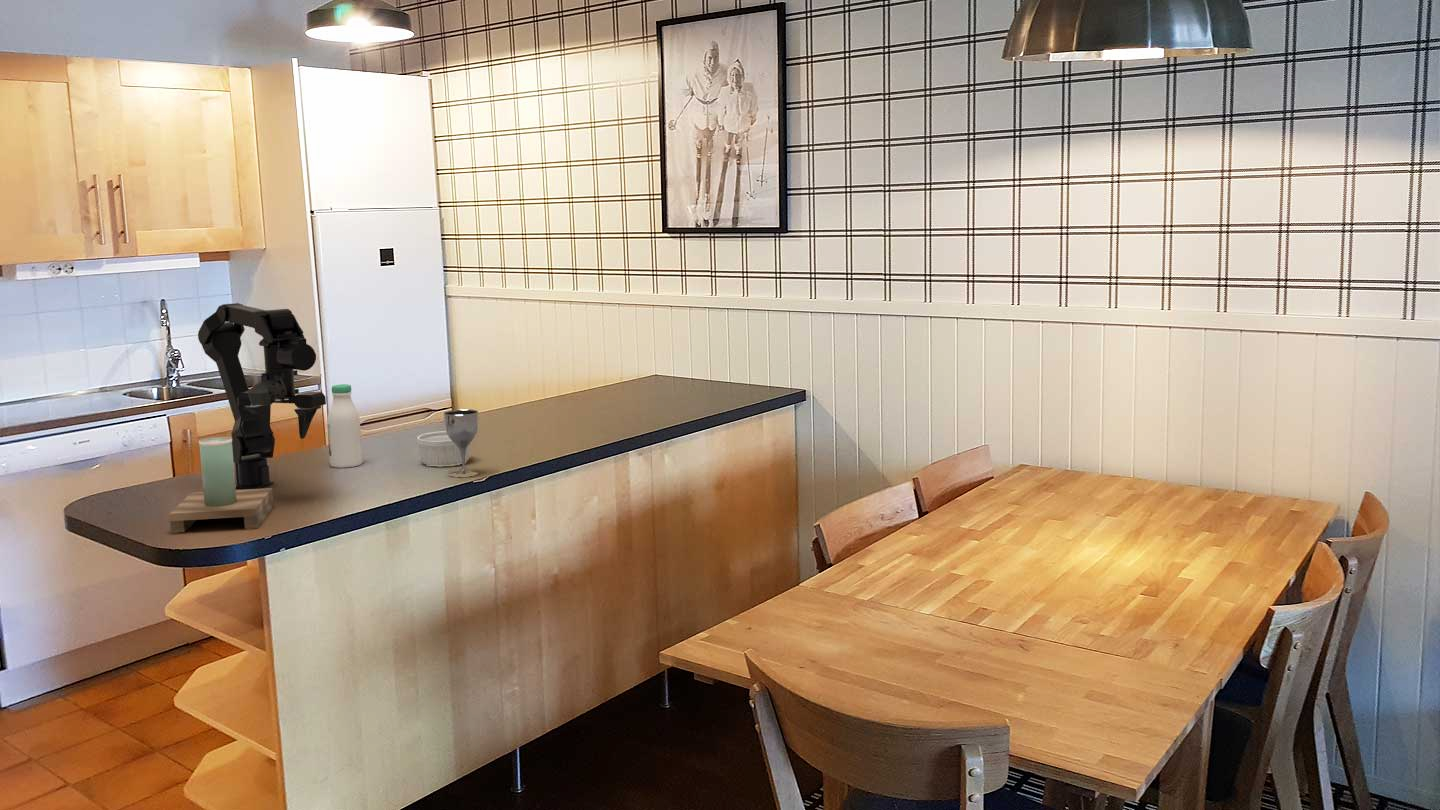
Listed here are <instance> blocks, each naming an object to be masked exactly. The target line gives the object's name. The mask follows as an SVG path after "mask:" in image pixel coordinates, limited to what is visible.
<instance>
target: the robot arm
mask: <svg viewBox="0 0 1440 810" xmlns="http://www.w3.org/2000/svg"><path fill="white" fill-rule="evenodd" d="M245 327H248V328H253V329H254V332H255V333H256V334H257V335H259V336H261V337H262V339H261V340H260V341H259V343H258V345H259V346H260V347H263V354H264V357H263V358H264V367H265V369H264V370H265V372H262V373H261V375H260V382H259V383H256V384H255V385H254V386H252V387H251V388H250V389H249V386H248V383H247V379H246V377H245V373H244V370H243V367H242V365H241V364H242V363H241V361H240V358H239V353H240V350H241V347H242V339H241V337H242V335H243V334H244V332H245V331H246V329H245ZM197 339H198V342H199V343H200V345H201V346H202V349H203V351H204V353H205V355H207V356H208V357H209V358H210V359H211V360H212V361H213V362H215V364H216V366H217V370H218V372H219V375H220V379H221V382H222V384H223V388H224V391H225V394H226V397H227V400H228V403H229V404H228V405H229V406H230V409H231V413H232V417H233V419H234V423H233V426H232V429H231V433H230V434H231V438H232V449H233V461H234V469H235V482H236V483H235V485H236V489H243V490H247V489H262V488H263V487H266V486H269V485H271V484H273V483H274V481H273V480H271V479H270V467H269V465H268V460H267V459H271V458H274V453H275V452H274V451H275V443H276V439H275V435H274V432H273V430H272V427H271V412H272V411H271V410H272V404H294V406H296V408H295V409H294V412H295V414H296V415H297V419H298V432H299V433H298V434H299V438H300V440H303V439H304V440H305V438H306V436H307V433H308V431H309V428H310V426H311V423H312V420H313V419H314V416H315V415H316V413H317V411H318V410H319V409H321V408H322V406H325V405H326V404H327V401H326V400H327V397H326V395H325V394H324V393H323V391H306V392H301V393H300V392H299V391H300V390H299V388H296V387H295V385H296V384H295V376H298V374H299V373H298V371H304V372H305V371H308V370H310V369H312V368H313V367H314V365H315V363H316V359H317V353H316V352H315V349H314V348H313V347H312V346H311V345H310V344H308V343H307V338H305V335H304V331H303V329H302V328H301V325H300V324H299V322H298V320H297V318H296V316H295V315H294V314H293V312H292V310H290V309H289V308H280V309H268V310H267V309H262V308H258V307H254V306H253V307H252V306H248V305H244V304H242V303H240V302H239V303H237V302H235V303H225V304H224V303H223V304H221V305H218V306H217V309H216V311H214V313H212V314H211V315H210V316H208V317H207V318H206V319H204V320H203V322H202V324H201V326H200V328H199V330H198V333H197Z"/></svg>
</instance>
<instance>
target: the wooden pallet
mask: <svg viewBox="0 0 1440 810" xmlns="http://www.w3.org/2000/svg"><path fill="white" fill-rule="evenodd" d="M273 496H274V495H273V488H272V487H268V488H266V487H264V488H258V489H236V498H237V502H236V503H234V504H231V505H226V506H217V507H211V506H205V504H204V492H203V491H198V492H197V491H196V492H195V491H193V492H191V493H190V494H188V495H187V496H186V497H185V498H184V499H183V500H182V501H181V502H180V503H179V504H178V505H176V507H174V508H173V509H172V510H171V512H169V524H170V534H171V533H173V534H179V533H178V532H185V531H186V530H187V531H188V529H190V528H191V526H192V525H193V524H194V523H195V522H196V521H197V520H210V519H211V520H212V519H230V518H243V522H244V523H243V524H244V530H250V529H251V530H252V529H259V528H260V526H261V524H262V523H263V522H264V520H265V519H266V518H267V516H268V514H269V513H270V512H271V511H272V509H273V508H274V497H273ZM195 520H196V521H195ZM194 521H195V522H194ZM193 522H194V523H193ZM190 525H191V526H190ZM187 531H186V532H187ZM186 532H185V533H186Z"/></svg>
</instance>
